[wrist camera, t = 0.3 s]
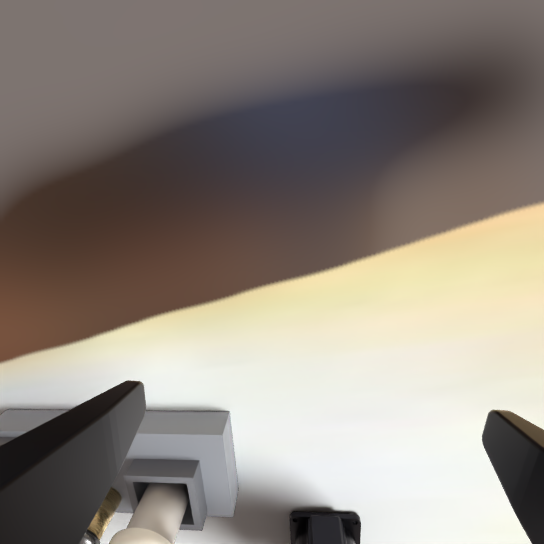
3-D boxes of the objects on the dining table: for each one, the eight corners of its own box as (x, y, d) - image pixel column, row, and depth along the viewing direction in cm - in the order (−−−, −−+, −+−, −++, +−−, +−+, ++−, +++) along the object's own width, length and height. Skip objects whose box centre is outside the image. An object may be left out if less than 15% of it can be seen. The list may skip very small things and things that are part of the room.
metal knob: (127, 509, 26) (98, 564, 22) (96, 508, 27) (62, 562, 23) (121, 483, 25) (90, 536, 22) (88, 482, 26) (52, 534, 22)
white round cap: (200, 513, 25) (173, 605, 20) (146, 511, 25) (105, 600, 20) (193, 469, 24) (162, 554, 18) (136, 468, 24) (89, 550, 19)
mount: (238, 489, 28) (229, 537, 24) (33, 482, 30) (-5, 525, 26) (229, 411, 25) (217, 451, 22) (7, 409, 27) (-40, 445, 24)
